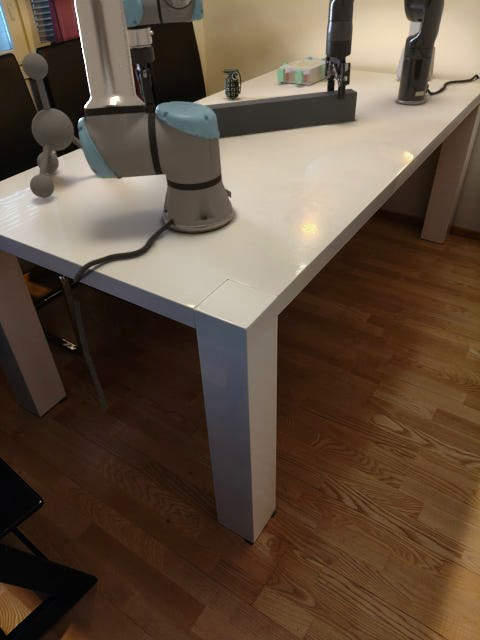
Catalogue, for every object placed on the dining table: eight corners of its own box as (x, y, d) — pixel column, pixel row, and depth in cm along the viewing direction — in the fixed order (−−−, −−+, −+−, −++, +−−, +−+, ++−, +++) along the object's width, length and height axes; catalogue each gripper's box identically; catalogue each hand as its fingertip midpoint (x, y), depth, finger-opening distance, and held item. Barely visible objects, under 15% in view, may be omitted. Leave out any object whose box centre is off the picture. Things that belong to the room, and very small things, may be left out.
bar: (137, 148, 147) (131, 118, 141) (136, 143, 150) (130, 113, 145) (354, 120, 158) (357, 92, 153) (348, 116, 162) (350, 88, 156)
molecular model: (125, 187, 123) (98, 53, 104) (35, 204, 117) (-11, 66, 98) (110, 158, 140) (84, 39, 122) (30, 172, 134) (-9, 49, 116)
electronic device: (404, 83, 193) (417, -8, 174) (394, 79, 199) (406, -9, 180) (432, 79, 195) (448, -11, 177) (422, 76, 201) (436, -12, 182)
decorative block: (300, 55, 216) (341, 58, 206) (299, 71, 220) (340, 74, 210) (268, 66, 200) (311, 70, 190) (268, 83, 204) (310, 87, 194)
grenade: (223, 100, 185) (221, 71, 179) (226, 96, 190) (225, 68, 184) (239, 100, 184) (238, 71, 178) (243, 96, 188) (242, 68, 182)
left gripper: (157, 51, 124) (168, 136, 137) (148, 39, 144) (159, 114, 156) (127, 54, 123) (142, 139, 136) (123, 41, 142) (135, 117, 155)
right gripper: (361, 39, 139) (356, 100, 149) (341, 33, 150) (337, 89, 160) (336, 42, 138) (333, 102, 148) (318, 35, 149) (316, 92, 159)
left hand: (151, 126), depth 146 cm, fingers open, 13 cm apart
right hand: (335, 95), depth 154 cm, fingers open, 8 cm apart
